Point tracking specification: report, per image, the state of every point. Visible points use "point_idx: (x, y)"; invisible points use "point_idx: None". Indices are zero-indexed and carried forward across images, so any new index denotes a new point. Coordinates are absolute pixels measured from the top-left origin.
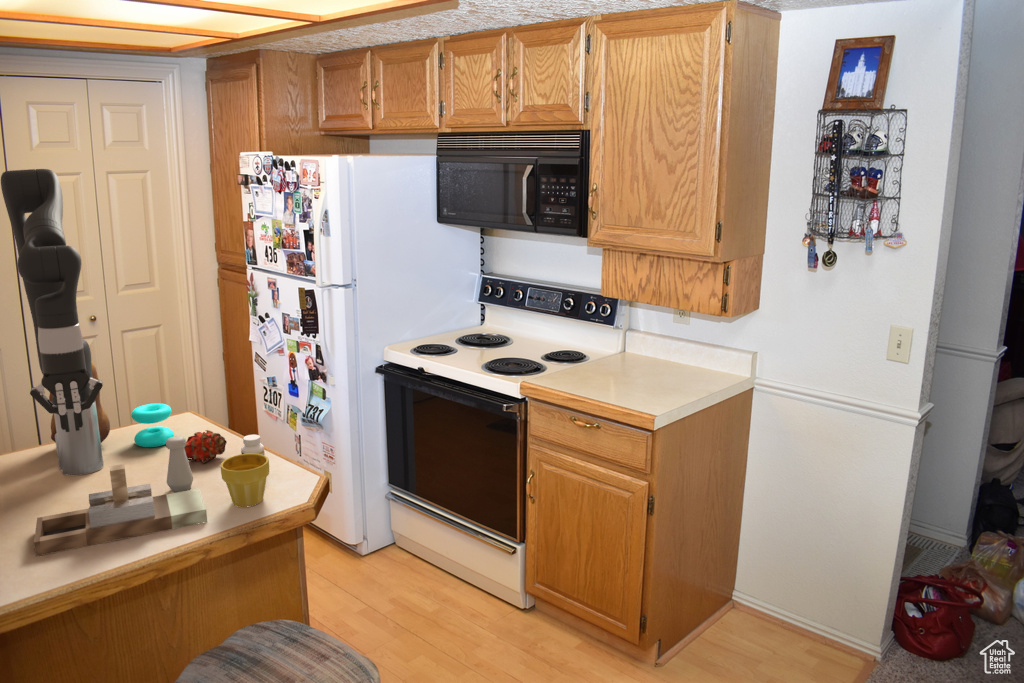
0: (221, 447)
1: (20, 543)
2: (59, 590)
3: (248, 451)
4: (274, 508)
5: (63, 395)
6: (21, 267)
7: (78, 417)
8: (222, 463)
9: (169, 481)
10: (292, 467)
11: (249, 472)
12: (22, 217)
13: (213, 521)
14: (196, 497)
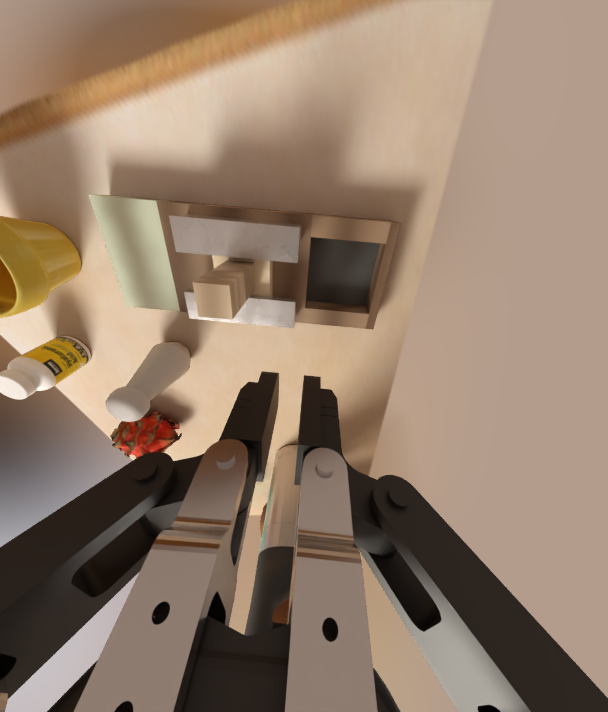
0: (120, 423)
1: (400, 289)
2: None
3: (31, 363)
4: None
5: (288, 690)
6: None
7: (244, 422)
8: (16, 288)
9: (181, 356)
10: (18, 344)
11: None
12: None
13: (98, 191)
14: (122, 268)
